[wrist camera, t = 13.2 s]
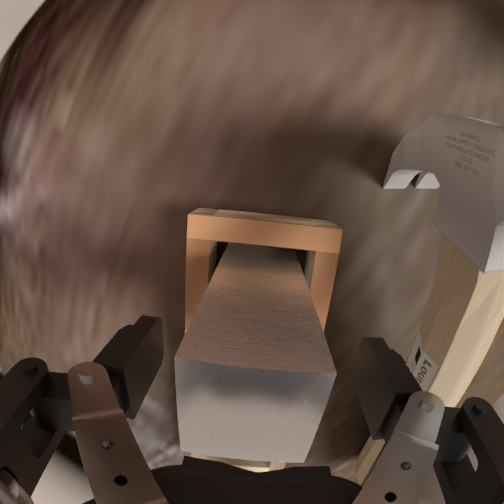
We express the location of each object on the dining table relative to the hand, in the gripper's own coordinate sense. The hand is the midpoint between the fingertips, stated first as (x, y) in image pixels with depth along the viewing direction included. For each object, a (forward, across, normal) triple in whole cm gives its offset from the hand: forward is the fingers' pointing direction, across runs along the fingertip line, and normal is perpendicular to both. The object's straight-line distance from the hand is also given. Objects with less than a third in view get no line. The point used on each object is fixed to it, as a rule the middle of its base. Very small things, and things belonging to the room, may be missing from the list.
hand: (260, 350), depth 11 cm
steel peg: (+8, 0, 0) cm, 8 cm away
